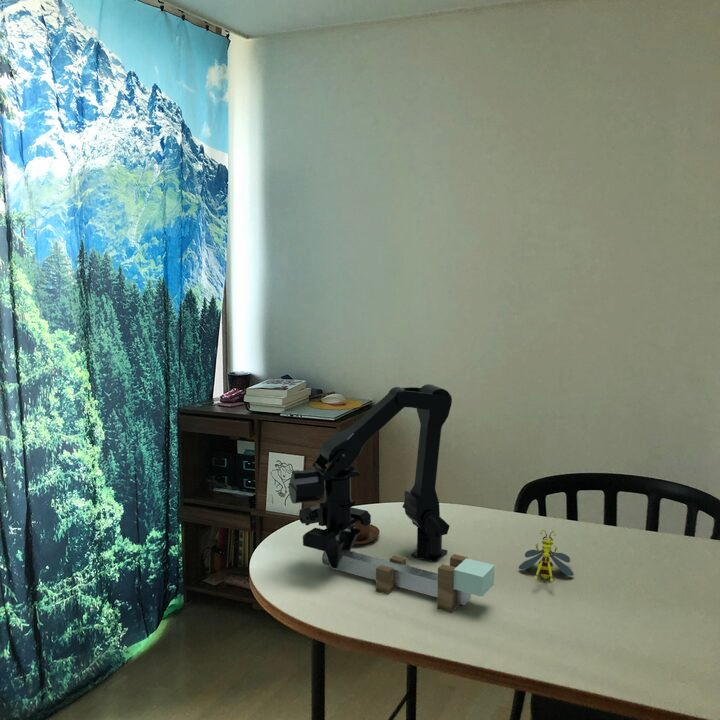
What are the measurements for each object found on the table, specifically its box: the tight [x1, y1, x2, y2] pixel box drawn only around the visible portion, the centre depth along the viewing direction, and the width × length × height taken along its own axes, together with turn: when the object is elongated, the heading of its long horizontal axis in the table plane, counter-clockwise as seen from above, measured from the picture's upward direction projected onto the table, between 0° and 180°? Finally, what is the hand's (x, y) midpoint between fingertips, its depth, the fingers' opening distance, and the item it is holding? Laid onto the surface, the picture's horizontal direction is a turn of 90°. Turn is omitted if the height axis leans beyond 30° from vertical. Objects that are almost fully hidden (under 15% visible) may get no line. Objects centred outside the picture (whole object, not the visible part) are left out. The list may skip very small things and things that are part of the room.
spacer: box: [453, 558, 496, 598], centre depth 138 cm, size 6×6×4 cm
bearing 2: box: [436, 553, 469, 613], centre depth 141 cm, size 8×3×8 cm, turn 148°
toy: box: [518, 529, 574, 582], centre depth 152 cm, size 12×8×15 cm
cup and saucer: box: [353, 521, 381, 545], centre depth 173 cm, size 12×12×6 cm
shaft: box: [321, 549, 472, 606], centre depth 148 cm, size 4×34×4 cm, turn 58°
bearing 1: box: [375, 554, 407, 596], centre depth 148 cm, size 8×3×5 cm, turn 148°
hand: (338, 565), depth 156 cm, fingers closed on shaft, 3 cm apart
